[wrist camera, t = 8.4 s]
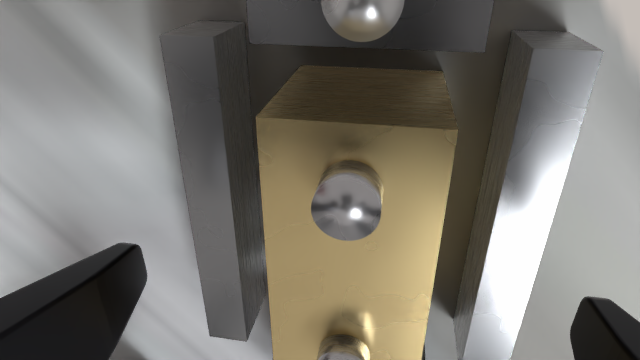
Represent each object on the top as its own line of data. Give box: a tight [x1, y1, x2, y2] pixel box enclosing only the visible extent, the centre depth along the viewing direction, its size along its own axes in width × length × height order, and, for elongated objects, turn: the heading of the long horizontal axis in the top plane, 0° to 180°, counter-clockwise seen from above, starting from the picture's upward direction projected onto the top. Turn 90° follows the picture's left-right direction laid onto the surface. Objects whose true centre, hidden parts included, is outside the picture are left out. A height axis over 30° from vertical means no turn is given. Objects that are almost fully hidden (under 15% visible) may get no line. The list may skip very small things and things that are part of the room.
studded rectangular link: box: [160, 0, 604, 360], centre depth 11 cm, size 16×9×3 cm, turn 0°
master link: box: [256, 65, 458, 360], centre depth 11 cm, size 7×4×5 cm, turn 0°
